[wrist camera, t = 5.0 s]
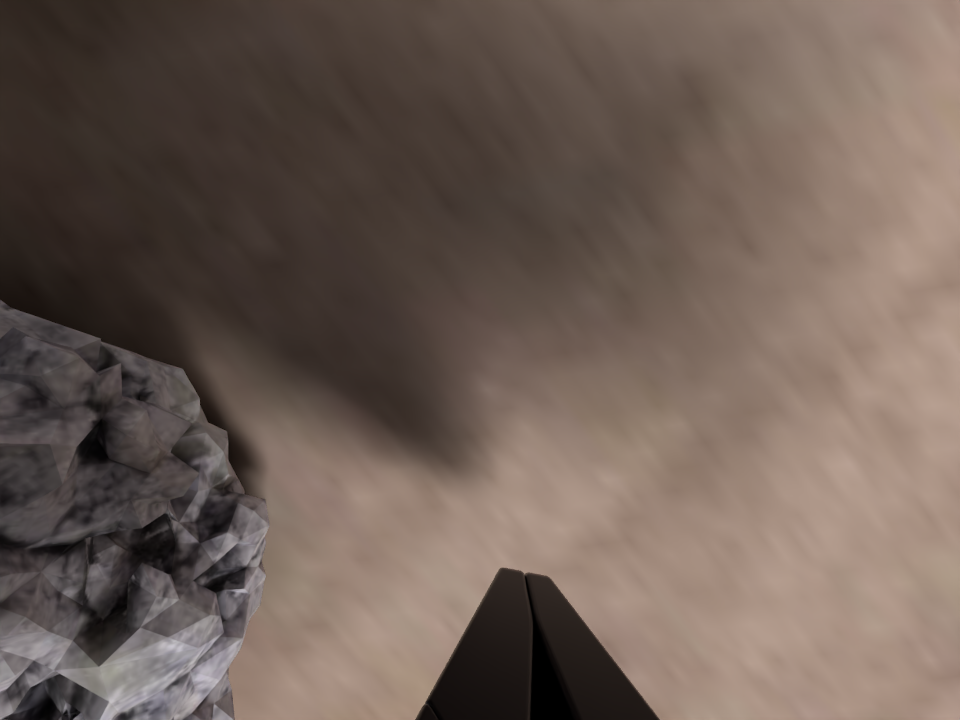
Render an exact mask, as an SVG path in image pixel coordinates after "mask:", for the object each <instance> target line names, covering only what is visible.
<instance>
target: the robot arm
mask: <svg viewBox="0 0 960 720" xmlns="http://www.w3.org/2000/svg"><path fill="white" fill-rule="evenodd" d="M415 720H660V719H659V718H658V717H657V715H656V714H655V713H654V711H653V710H652V709H651V708H650V706H649V705H648V704H647V702H646V701H645V700H644V699H643V697H642V696H641V695H640V693H639V692H638V691H637V690H636V688H635V687H634V686H633V684H632V683H631V682H630V680H629V679H628V678H627V677H626V675H625V674H624V673H623V671H622V670H621V669H620V668H619V666H618V665H617V664H616V662H615V661H614V660H613V659H612V657H611V656H610V655H609V653H608V652H607V651H606V649H605V648H604V647H603V646H602V644H601V643H600V642H599V640H598V639H597V638H596V637H595V635H594V634H593V633H592V631H591V630H590V629H589V628H588V626H587V625H586V624H585V622H584V621H583V620H582V618H581V617H580V616H579V615H578V613H577V612H576V611H575V609H574V608H573V607H572V606H571V604H570V603H569V602H568V600H567V599H566V598H565V597H564V595H563V594H562V593H561V591H560V590H559V589H558V587H557V586H556V585H555V584H554V582H553V581H552V580H551V579H550V578H549V577H548V576H544V575H539V574H534V573H526V574H525V575H524V573H523V572H522V571H519V570H514V569H508V568H500V569H499V571H498V572H497V574H496V576H495V578H494V580H493V581H492V583H491V585H490V587H489V589H488V590H487V592H486V594H485V596H484V598H483V599H482V601H481V603H480V605H479V607H478V608H477V610H476V612H475V614H474V616H473V617H472V619H471V621H470V623H469V625H468V627H467V628H466V630H465V632H464V634H463V636H462V637H461V639H460V641H459V643H458V645H457V646H456V648H455V650H454V652H453V654H452V655H451V657H450V659H449V661H448V663H447V664H446V666H445V668H444V670H443V672H442V673H441V675H440V677H439V679H438V681H437V682H436V684H435V686H434V688H433V690H432V691H431V693H430V695H429V697H428V699H427V700H426V702H425V705H424V706H423V707H422V709H421V710H420V712H419V714H418V716H417V718H416V719H415Z"/></svg>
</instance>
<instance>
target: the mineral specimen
mask: <svg viewBox="0 0 960 720" xmlns="http://www.w3.org/2000/svg"><path fill="white" fill-rule="evenodd" d="M268 527H269V519H268V511H267V505H266V501H265V499H262V498H258V497H254V496H250V495H246V494H245V493H244V488H243V486H242V485H241V483H240V481H239V479H238V477H237V476H236V474H235V472H234V470H233V468H232V466H231V464H230V463H229V461H228V436H227V431H225V430H223V429H221V428H219V427H217V426H215V425H213V424H210V423H208V421H207V419H206V417H205V415H204V412H203V410H202V408H201V406H200V398H199V396H198V394H197V393H196V391H195V389H194V388H193V386H192V384H191V382H190V381H189V379H188V377H187V376H186V374H185V372H184V370H183V369H182V368H179V367H176V366H172V365H169V364H166V363H163V362H159V361H156V360H153V359H150V358H147V357H144V356H141V355H139V354H137V353H134V352H132V351H129V350H126V349H123V348H120V347H117V346H114V345H111V344H108V343H105V342H102V341H101V338H98V337H95V336H92V335H89V334H86V333H83V332H80V331H77V330H74V329H71V328H68V327H66V326H63V325H60V324H57V323H54V322H51V321H48V320H45V319H42V318H39V317H36V316H34V315H31V314H28V313H25V312H22V311H19V310H16V309H13V308H11V307H9V306H8V305H7V304H5V303H4V302H2V301H1V300H0V720H235V718H234V708H233V698H232V689H231V686H230V682H229V679H228V670H229V666H230V664H231V663H232V661H233V659H234V658H235V656H236V655H237V653H238V652H239V650H240V649H241V646H242V643H243V640H244V636H245V633H246V630H247V626H248V623H249V620H250V618H251V617H252V615H253V614H254V613H255V611H256V610H257V609H258V607H259V606H260V603H261V598H262V592H263V586H264V580H265V577H266V574H265V571H264V567H263V564H262V557H263V553H264V549H265V545H266V540H265V534H266V532H267V530H268Z"/></svg>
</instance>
